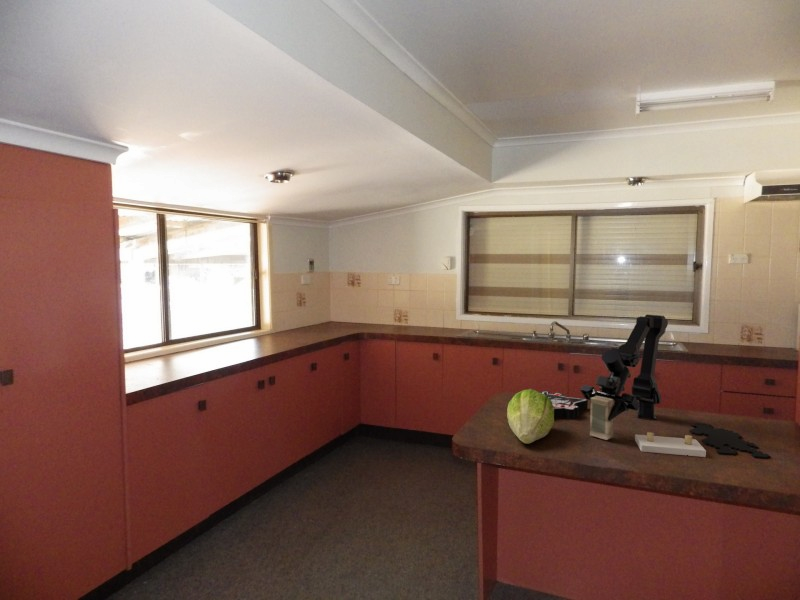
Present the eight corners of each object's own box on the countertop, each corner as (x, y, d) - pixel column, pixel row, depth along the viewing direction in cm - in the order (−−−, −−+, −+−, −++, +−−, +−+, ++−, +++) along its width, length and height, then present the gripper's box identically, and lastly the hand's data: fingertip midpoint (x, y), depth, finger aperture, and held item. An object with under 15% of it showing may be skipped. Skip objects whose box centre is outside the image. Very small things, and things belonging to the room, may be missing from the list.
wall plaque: (589, 396, 205) (579, 416, 179) (589, 406, 206) (578, 428, 179) (522, 388, 218) (503, 406, 192) (522, 397, 219) (502, 416, 192)
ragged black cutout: (771, 460, 149) (729, 427, 179) (772, 457, 149) (730, 425, 178) (712, 455, 153) (681, 424, 182) (712, 452, 153) (681, 421, 182)
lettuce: (552, 463, 159) (504, 461, 165) (558, 416, 179) (514, 416, 186) (545, 425, 154) (495, 425, 160) (551, 382, 174) (507, 383, 181)
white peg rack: (635, 440, 166) (635, 427, 165) (695, 445, 161) (696, 431, 160) (641, 451, 156) (641, 437, 156) (705, 457, 151) (706, 442, 151)
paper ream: (595, 432, 172) (596, 395, 171) (612, 437, 167) (613, 399, 166) (589, 435, 169) (590, 397, 168) (606, 440, 164) (607, 401, 163)
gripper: (583, 362, 176) (565, 398, 170) (636, 371, 161) (619, 411, 155) (594, 380, 181) (577, 416, 175) (646, 390, 167) (630, 430, 161)
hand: (599, 417), depth 167 cm, fingers closed on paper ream, 6 cm apart
